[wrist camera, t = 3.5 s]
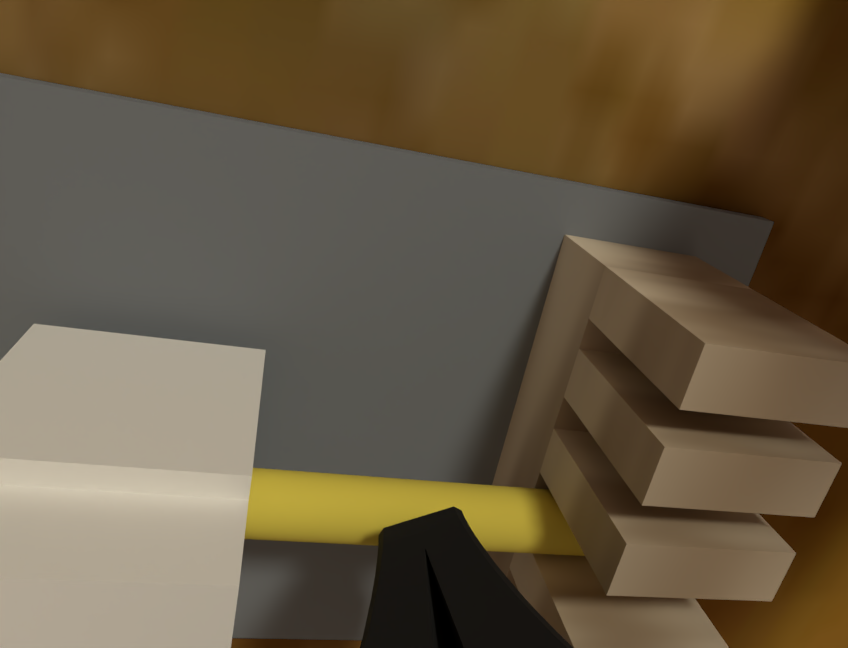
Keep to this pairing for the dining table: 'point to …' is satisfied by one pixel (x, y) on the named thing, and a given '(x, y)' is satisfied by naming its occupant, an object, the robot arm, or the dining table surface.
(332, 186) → the cable mat
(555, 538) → the yellow rod
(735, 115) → the dining table surface
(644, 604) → the cable comb
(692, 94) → the dining table surface
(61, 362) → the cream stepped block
